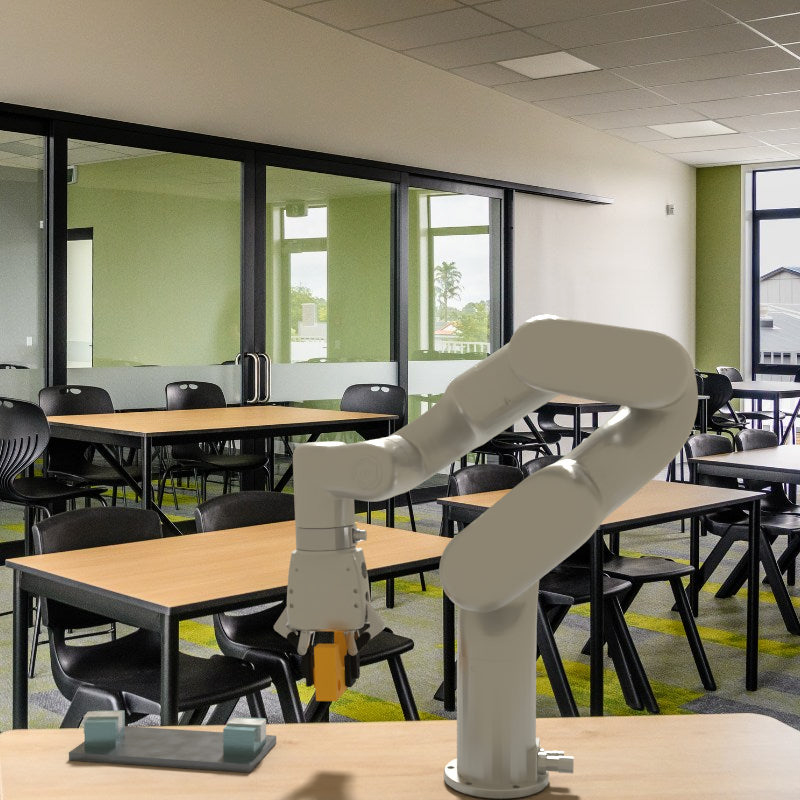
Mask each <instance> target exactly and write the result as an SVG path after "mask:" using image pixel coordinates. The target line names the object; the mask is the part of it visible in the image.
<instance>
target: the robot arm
mask: <svg viewBox="0 0 800 800" xmlns="http://www.w3.org/2000/svg"><path fill="white" fill-rule="evenodd" d="M689 354H690V353H688V351H687V349H686V348H685V347H684V346H683V345H682V344H681V343H680V342H679V341H678V340H676V339H675V338H672V337H671V336H670V335H667V334H665V333H661V332H658V331H653V330H647V329H639V328H633V327H627V326H624V327H623V326H617V325H612V324H606V323H605V324H604V323H599V322H590V321H585V320H581V319H580V320H579V319H574V318H568V317H565V316H560V315H554V314H542V315H541V314H540V315H536V316H533V317H531V318H529V319H527V320H526V321H524V322H523V323H522V324H521V325H519V326H518V328H517V329H516V330H515V331H514V332H513V335H512V336H511V338H510V341H509V342H508V343H506V344H505V345H503V346H502V347H501V348H499V349H497V350H496V351H495V352H493V353H491V354H490V355H488V356H486V358H483V360H480V361H479V362H478V363H476V364H474V365H473V366H471V367H470V368H469V369H467V370H465V371H464V372H463V373H461V374H459V375H457V376H456V377H455V378H453V380H452V381H451V382H450V383H449V384H448V385H447V387H446V389H445V391H444V393H443V395H442V396H441V398H440V399H439V400H437V402H436V403H435V404H434V405H433V406H432V407H430V408H429V409H428V410H426V411H425V412H424V413H423V414H421V415H419V416H418V417H417V418H415V419H414V420H412V421H411V422H409V423H407V424H406V425H405V426H403V427H401V428H400V429H398V430H397V431H395V432H393V433H392V434H389V435H388V436H386V437H380V438H375V439H369V440H365V441H359V442H353V443H346V442H343V441H336V440H335V441H332V440H331V441H314V442H313V441H312V442H305V443H300V444H298V445H297V446H296V447H295V449H293V453H292V469H293V470H292V473H293V494H294V496H293V497H294V498H293V499H294V500H293V501H294V502H293V503H294V523H295V524H294V526H295V548H296V549H294V550H292V551H291V553H290V560H289V567H288V573H287V574H288V575H287V587H286V590H287V592H286V593H287V594H286V606H285V608H284V609H283V611H282V612H281V614H280V616H279V617H278V619H277V620H276V622H275V623H274V624H273V629H274V631H275V632H277V633H278V634H279V635H281V636H282V637H283V638H285V639H287V641H288V642H289V643H290V644H291V645H292V646H293V647H294V648H295V649H296V650H297V653H298V654H299V655H300V656H301V676H302V679H305V685H306V687H307V688H308V687H309V688H310V687H312V686H313V687H314V675H313V669H314V668H315V660H314V647H315V646H314V639H315V634H316V632H334V631H343V634H344V638H345V642H346V645H347V654H346V655H345V656H344V666H345V686H347V687H348V688H352V687H353V685H355V683H356V682H357V680H359V678H360V677H361V675H360V674H361V669H360V668H361V667H360V664H361V663H360V651H361V650H362V649H363V648H364V646H366V644H367V643H368V642H370V641H371V640H372V639H373V638H375V637H376V636H377V635H379V634H380V633H381V632H382V631H383V630H384V629H385V628H386V624H385V622H384V621H383V619H382V618H381V616H379V614H378V613H377V611H376V610H375V608H373V606H372V604H371V603H372V602H371V592H370V583H369V575H368V569H367V564H366V558H365V554H364V550H363V548H362V547H357V546H356V545H358V543H360V542H361V541H364V542H365V541H367V538H368V537H367V536H368V534H367V529H362V530H361V528H360V529H359V528H358V526H357V524H356V518H355V517H356V515H355V514H356V513H355V500H356V501H363V502H381V501H387V500H388V499H392V498H393V497H396V496H399V495H401V494H405V493H408V492H409V491H411V490H413V489H415V488H416V487H418V486H420V485H421V484H422V483H424V482H425V481H428V480H429V479H430V478H432V477H433V476H435V475H436V474H438V473H440V472H441V471H443V470H444V469H445V468H448V467H449V466H450V465H452V464H453V463H455V462H457V461H458V460H459V459H461V458H462V457H464V456H466V455H467V454H468V453H470V452H472V451H473V450H475V449H477V448H478V447H481V446H483V445H485V444H486V443H487V442H489V441H490V440H492V439H493V438H494V437H496V436H498V435H499V434H501V433H503V432H504V431H505V430H507V429H508V428H510V427H512V426H513V425H514V424H516V423H517V422H519V421H521V420H522V419H523V418H525V417H527V416H528V415H530V414H531V413H533V412H534V411H537V409H539V408H541V407H542V406H544V405H546V404H548V403H550V402H551V401H552V400H554V399H555V398H557V397H558V396H560V395H562V396H567V397H571V398H578V399H581V400H582V399H583V400H588V401H594V402H600V403H607V404H612V405H617V406H620V407H619V409H618V410H617V411H616V412H615V413H614V414H613V415H612V416H611V417H610V418H609V419H608V420H607V421H605V422H604V423H603V424H601V425H600V426H599V427H598V428H597V429H595V430H594V431H593V432H592V433H590V435H589V436H588V437H587V438H585V439H584V440H583V441H582V442H580V444H578V445H577V446H575V448H573V449H571V451H569V452H568V453H567V454H565V455H564V456H562V457H561V458H560V459H559V460H557V461H556V462H554V463H552V464H549V465H547V466H545V467H542V468H540V469H539V470H537V471H535V472H533V473H531V474H529V475H528V476H527V477H526V478H524V479H523V480H522V481H521V482H519V483H518V484H517V485H515V486H514V487H513V488H512V489H511V490H510V491H508V492H506V494H504V496H502V497H501V498H499V500H497V501H496V502H494V504H493V505H492V506H490V507H489V508H487V510H485V511H484V512H483V513H481V514H480V515H479V516H477V518H475V520H473V521H472V522H471V523H469V524H468V525H467V526H465V528H463V529H462V530H461V531H459V532H458V533H457V534H456V535H455V536H454V537H453V538H452V539H451V540H450V541H449V542H447V544H446V546H445V547H444V549H443V551H442V554H441V558H440V561H439V568H438V569H439V571H438V573H439V580H440V581H439V582H440V584H441V588H442V589H443V591H444V593H445V595H446V596H447V597H448V598H449V600H450V601H451V602H452V603H453V604H455V605H457V606H458V610H457V611H458V613H457V626H456V627H457V630H456V631H457V632H456V637H457V638H456V640H457V641H456V643H457V644H456V647H457V648H456V758H454V759H452V760H450V761H449V762H447V764H446V765H445V766H444V768H443V780H444V782H445V784H447V786H449V787H450V788H451V789H453V790H455V791H457V792H459V793H462V794H465V795H469V796H473V797H476V798H477V797H478V798H484V799H500V800H504V799H507V800H508V799H516V798H523V797H528V796H531V795H534V794H537V793H539V792H542V791H543V790H544V789H545V788H546V787H547V786H548V784H549V779H550V773H549V772H557V773H560V774H574V769H575V768H574V765H575V762H574V761H575V759H574V756H570V755H569V756H568V755H567V756H566V755H565V751H564V750H545V749H546V748H545V747H541V746H540V743H541V741H540V739H541V738H540V737H539V736H538V737H537V635H538V634H537V630H538V629H537V623H538V621H537V620H538V601H539V600H538V599H539V586H540V580H541V579H542V578H543V577H544V576H545V575H547V574H549V573H550V572H551V571H553V569H555V567H557V566H558V565H559V564H561V563H562V562H564V560H566V559H567V558H569V557H570V556H571V555H572V554H573V553H575V552H576V551H577V550H578V549H580V547H582V546H583V545H584V544H585V543H586V542H587V541H588V540H589V539H591V537H592V536H593V535H594V533H595V532H596V531H597V530H598V528H600V526H601V524H602V523H603V522H604V521H605V520H606V519H607V518H609V516H610V515H611V514H613V513H614V512H615V511H616V510H617V509H619V508H620V507H621V506H622V505H623V504H625V503H626V502H627V501H629V500H630V499H631V498H632V497H634V496H635V495H636V494H637V493H638V492H639V491H640V490H642V488H643V487H645V486H646V485H647V484H648V483H649V482H651V481H652V480H653V479H654V478H655V477H656V476H658V475H659V474H660V473H661V472H662V471H664V469H665V468H667V467H668V465H669V464H670V463H672V461H674V459H675V458H676V457H677V455H678V454H679V453H680V452H681V450H682V449H683V447H684V445H685V444H686V443H687V441H688V439H689V437H690V434H691V433H692V431H693V428H694V425H695V421H696V418H697V413H698V405H699V393H698V392H699V391H698V389H699V388H698V383H697V376H696V371H695V369H694V364H693V362H692V359H691V356H690V355H689ZM366 623H368V624H369V627H368V628H366V630H364V631H363V632H362V633H361V634H360V631H359V630H360V629H362V628H364V626H365V624H366ZM299 631H300V632H299Z"/></svg>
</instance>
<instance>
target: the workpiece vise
mask: <svg viewBox="0 0 800 800" xmlns="http://www.w3.org/2000/svg"><path fill="white" fill-rule="evenodd" d="M125 713H126V712H125V710H119V709H118V710H115V709H114V710H112V709H111V710H109V709H107V710H93V711H87V712H86V714H84V715H83V734H84V741H83V742H82V743H80V744H78V745H77V746H76V747H74V748H73V749H72V750H70V751H68V761H76V762H77V761H79V762H88V763H89V762H90V763H91V762H92V763H104V764H119V765H131V766H132V765H134V766H148V767H163V768H175V769H176V768H178V769H179V768H180V769H188V770H189V769H190V770H191V769H192V770H193V769H194V770H202V771H203V770H204V771H205V770H206V771H219V772H221V771H222V772H232V773H233V772H234V773H235V772H236V773H247V774H250V773H251V772H253V770H254V769H255V767H256V766H257V765H258V764H260V762H261V761H262V760H263V759H264V758H265V756H267V754H268V753H269V752H270V751H271V750H272V748H273V747H274V746H276V744H277V735H274V734H273V735H271V734H267V719H266V718H263V717H249V716H248V717H247V716H236V717H232V718H231V719H230V720H228V722H226V726H225V727H224V728H223V729H222V730H223V731H209V730H208V731H207V730H192V729H191V730H190V729H177V728H161V727H143V726H130V725H129V726H128V725H125V722H126V721H125V720H126V719H125V718H126V717H125Z"/></svg>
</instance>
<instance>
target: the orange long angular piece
mask: <svg viewBox="0 0 800 800" xmlns="http://www.w3.org/2000/svg"><path fill="white" fill-rule="evenodd" d="M333 634H334V635H333V643H317V644H316V645H315V646H313V647H314V660H315V668H314V669H313V675H314V684H313V689H315V701H316V702H337V701H338V700H340V698H341V697H342V696H343V694H344V693H345V692H346V691H347V690H348V688H349V687H347V686H345V666H344V656H345V655H346V654H347V645H346V642H345V638H344V634H343V631H333Z"/></svg>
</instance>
